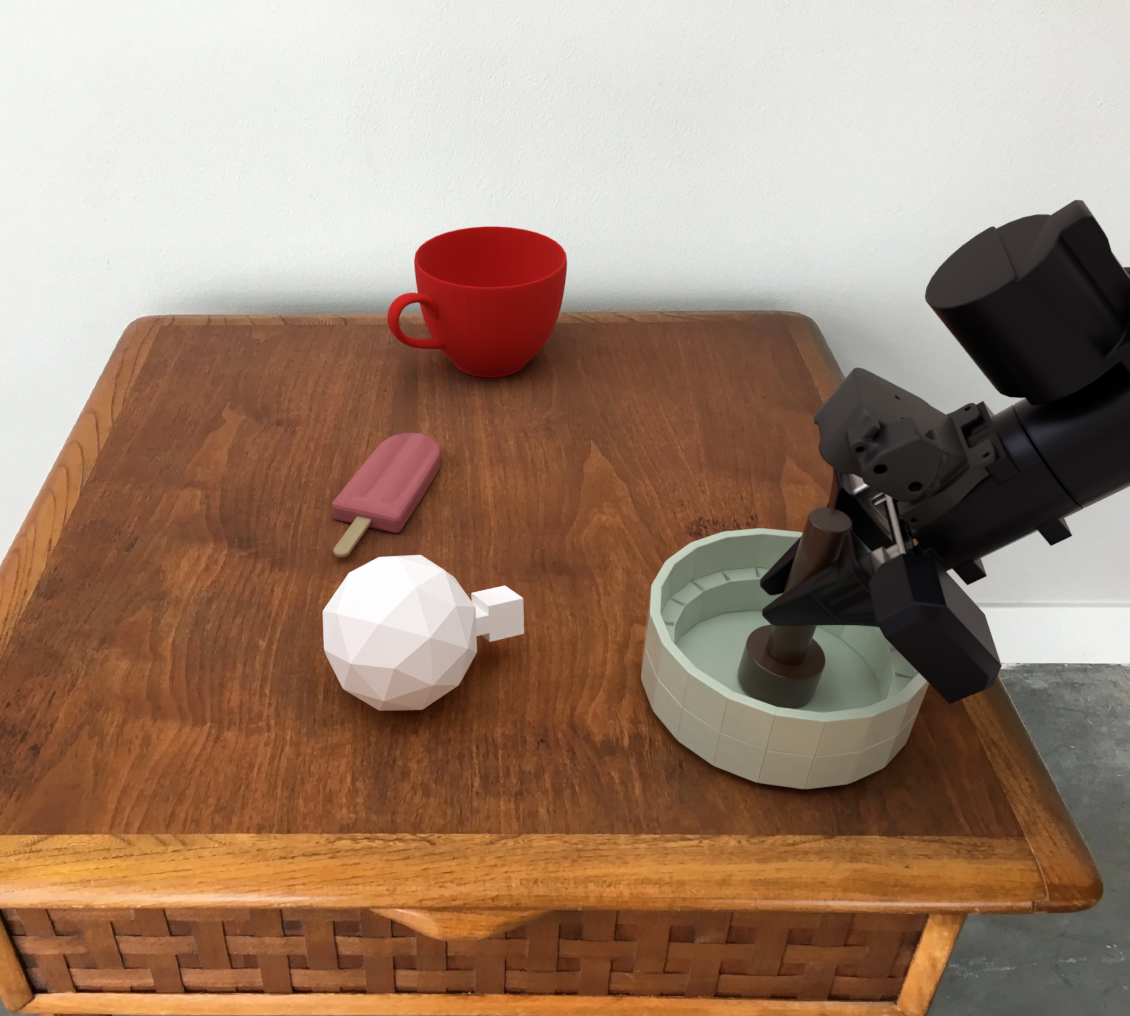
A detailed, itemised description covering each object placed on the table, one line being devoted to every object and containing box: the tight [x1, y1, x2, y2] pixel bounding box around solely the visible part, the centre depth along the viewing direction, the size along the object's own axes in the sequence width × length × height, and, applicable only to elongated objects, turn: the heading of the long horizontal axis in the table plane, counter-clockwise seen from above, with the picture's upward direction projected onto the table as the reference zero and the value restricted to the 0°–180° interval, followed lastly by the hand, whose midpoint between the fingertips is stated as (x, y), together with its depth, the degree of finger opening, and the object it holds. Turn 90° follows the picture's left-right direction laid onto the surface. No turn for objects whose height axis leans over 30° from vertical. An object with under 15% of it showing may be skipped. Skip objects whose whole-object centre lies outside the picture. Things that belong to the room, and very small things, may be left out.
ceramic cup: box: [386, 225, 568, 378], centre depth 88 cm, size 13×17×10 cm
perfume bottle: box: [322, 554, 525, 712], centre depth 58 cm, size 9×9×12 cm
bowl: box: [640, 527, 930, 790], centre depth 58 cm, size 15×15×6 cm
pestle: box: [738, 506, 853, 709], centre depth 55 cm, size 4×4×12 cm
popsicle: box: [331, 432, 442, 558], centre depth 74 cm, size 5×2×15 cm
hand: (765, 603), depth 56 cm, fingers closed on pestle, 2 cm apart
